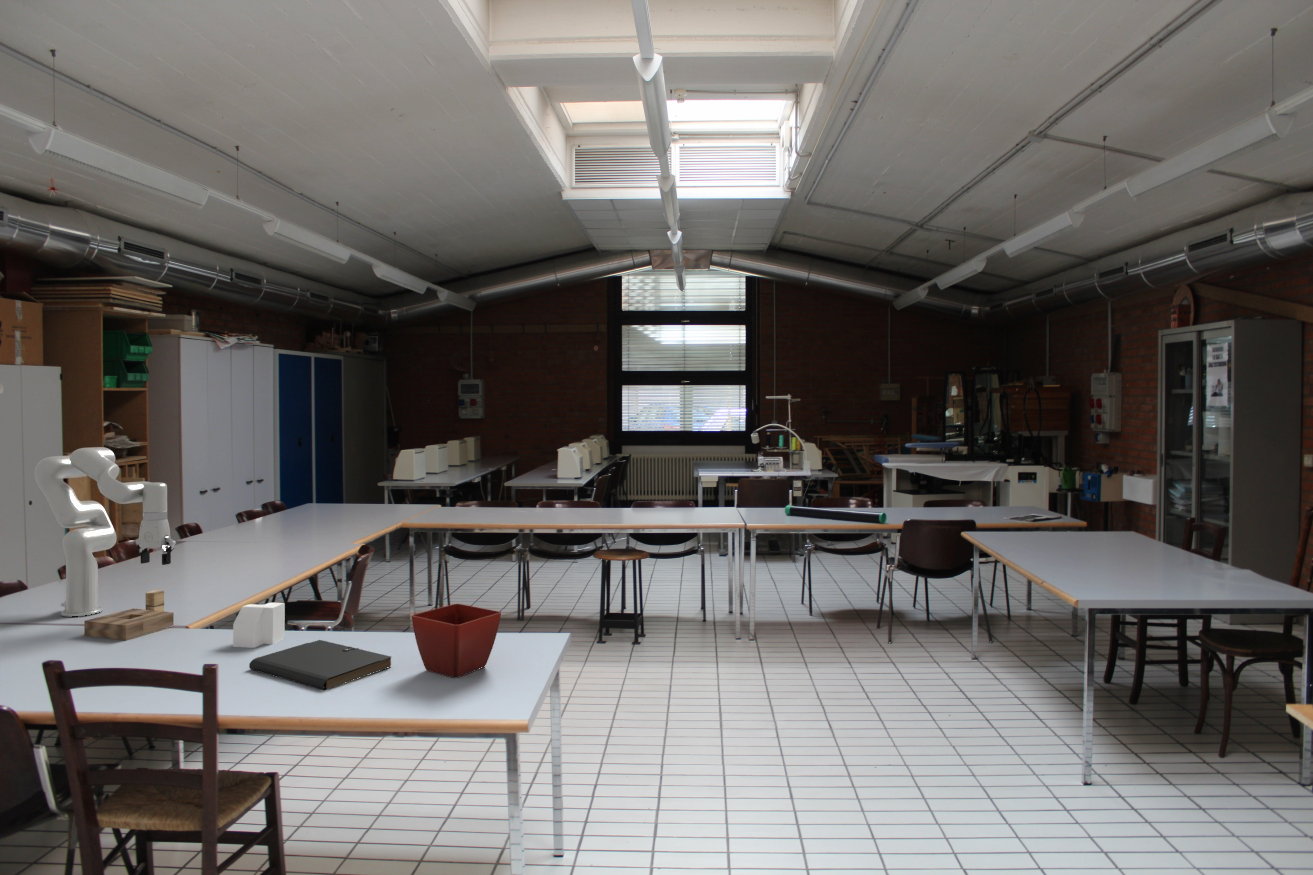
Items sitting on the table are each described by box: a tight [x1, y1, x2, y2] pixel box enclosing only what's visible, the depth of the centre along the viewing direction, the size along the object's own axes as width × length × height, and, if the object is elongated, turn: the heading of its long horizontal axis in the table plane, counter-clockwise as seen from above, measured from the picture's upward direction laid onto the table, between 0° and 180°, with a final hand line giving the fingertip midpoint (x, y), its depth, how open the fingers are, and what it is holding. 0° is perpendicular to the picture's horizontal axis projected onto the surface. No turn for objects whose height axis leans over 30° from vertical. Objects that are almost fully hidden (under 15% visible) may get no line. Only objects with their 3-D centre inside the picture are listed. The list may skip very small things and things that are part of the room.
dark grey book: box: [248, 639, 392, 691], centre depth 232 cm, size 33×4×24 cm
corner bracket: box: [232, 602, 286, 649], centre depth 257 cm, size 11×11×12 cm
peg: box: [144, 589, 165, 612], centre depth 284 cm, size 4×4×10 cm
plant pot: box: [411, 603, 502, 679], centre depth 233 cm, size 19×19×17 cm
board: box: [83, 608, 175, 641], centre depth 268 cm, size 18×18×5 cm
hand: (155, 563), depth 283 cm, fingers open, 9 cm apart
